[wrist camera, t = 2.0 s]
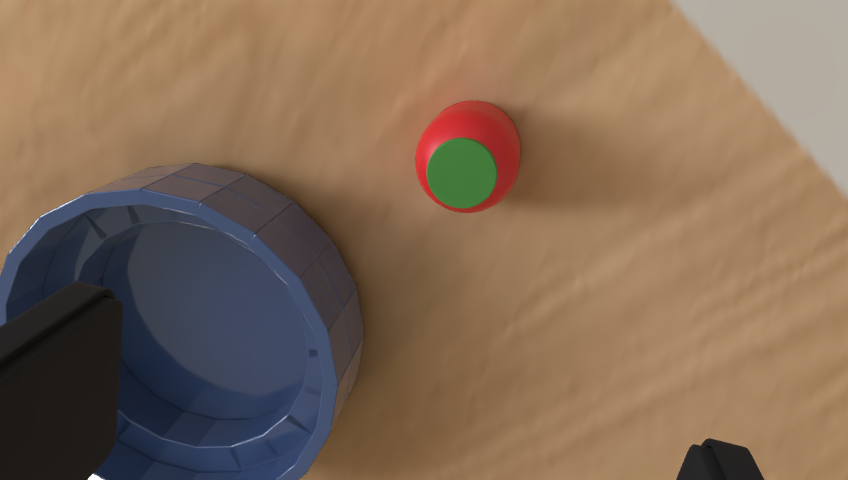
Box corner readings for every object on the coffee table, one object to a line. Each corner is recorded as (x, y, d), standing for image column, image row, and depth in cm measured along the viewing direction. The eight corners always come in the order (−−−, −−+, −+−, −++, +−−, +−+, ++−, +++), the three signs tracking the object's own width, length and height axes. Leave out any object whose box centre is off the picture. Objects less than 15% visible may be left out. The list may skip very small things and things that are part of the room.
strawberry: (530, 111, 27) (530, 131, 22) (508, 203, 28) (504, 239, 24) (435, 91, 27) (416, 106, 23) (417, 183, 28) (396, 214, 24)
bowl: (390, 201, 29) (362, 238, 24) (342, 476, 33) (310, 552, 29) (72, 130, 30) (-14, 153, 25) (70, 406, 34) (-3, 468, 30)
